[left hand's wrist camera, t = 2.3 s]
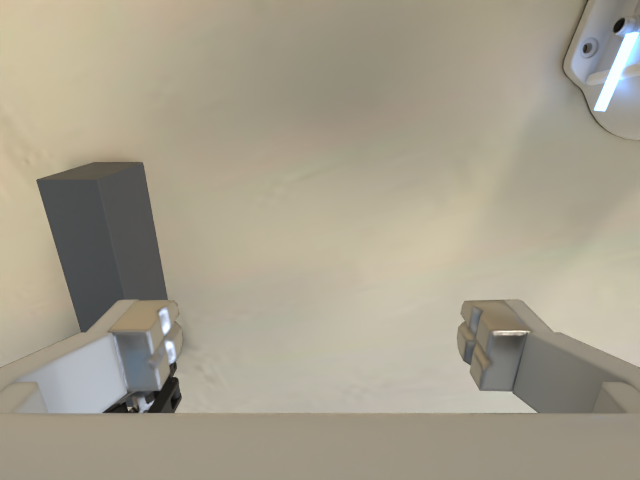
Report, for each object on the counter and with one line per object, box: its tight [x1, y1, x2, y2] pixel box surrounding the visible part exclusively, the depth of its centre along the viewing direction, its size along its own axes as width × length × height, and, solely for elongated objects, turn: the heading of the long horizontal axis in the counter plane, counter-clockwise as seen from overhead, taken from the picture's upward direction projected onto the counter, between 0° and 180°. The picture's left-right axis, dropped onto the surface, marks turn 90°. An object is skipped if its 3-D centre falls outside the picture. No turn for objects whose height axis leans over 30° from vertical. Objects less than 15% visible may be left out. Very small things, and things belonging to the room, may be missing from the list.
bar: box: [36, 162, 168, 407], centre depth 39 cm, size 26×5×8 cm, turn 0°
